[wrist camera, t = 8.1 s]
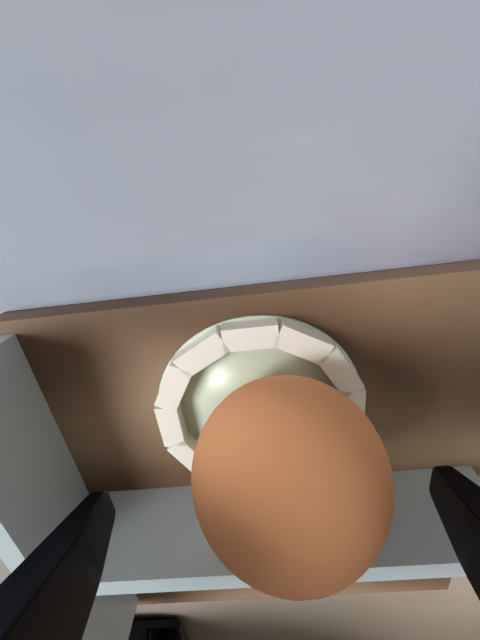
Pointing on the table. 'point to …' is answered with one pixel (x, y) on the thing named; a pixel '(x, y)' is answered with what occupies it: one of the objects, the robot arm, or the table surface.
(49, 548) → the robot arm
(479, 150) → the table surface
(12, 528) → the board
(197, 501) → the ball
